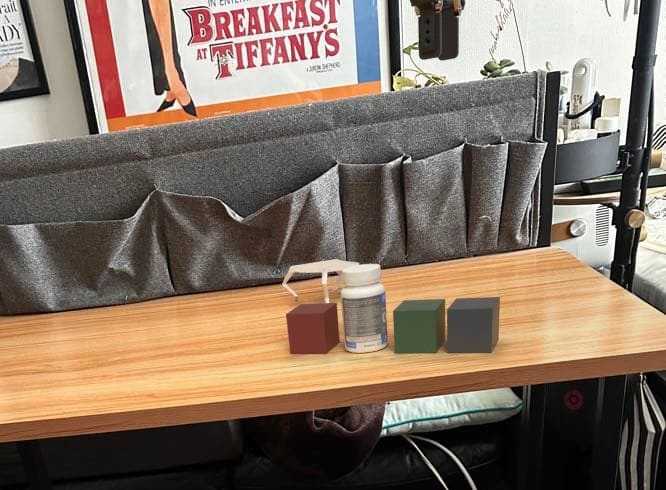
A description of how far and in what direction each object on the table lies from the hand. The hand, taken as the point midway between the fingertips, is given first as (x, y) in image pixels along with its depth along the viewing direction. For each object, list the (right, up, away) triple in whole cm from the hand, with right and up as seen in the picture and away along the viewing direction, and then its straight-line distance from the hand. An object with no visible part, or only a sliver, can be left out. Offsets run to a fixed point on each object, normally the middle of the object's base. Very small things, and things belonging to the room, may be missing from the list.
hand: (439, 59), depth 77 cm
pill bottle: (-8, -31, +2) cm, 32 cm away
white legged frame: (-10, -18, +25) cm, 32 cm away
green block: (-2, -31, -1) cm, 31 cm away
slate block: (+3, -32, -3) cm, 32 cm away
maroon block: (-13, -30, +4) cm, 33 cm away
